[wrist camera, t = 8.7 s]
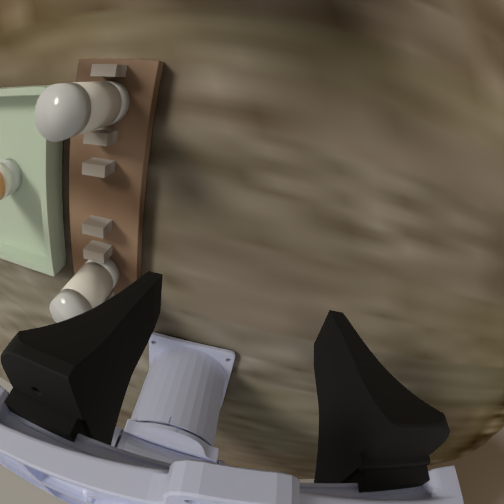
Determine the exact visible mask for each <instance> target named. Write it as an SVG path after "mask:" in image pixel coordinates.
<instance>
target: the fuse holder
mask: <svg viewBox="0 0 504 504" xmlns="http://www.w3.org/2000/svg"><path fill="white" fill-rule="evenodd" d="M163 65H164V62H161V61H151V60H133V59H79V64H78V71H77V77H76V82H91V81H117V82H119V83H121V84H122V85H124V86H125V88H126V89H127V91H128V93H129V97H130V105H129V109H128V111H127V113H126V115H125V116H124V118H123V119H122V120H120V121H119V122H117V123H115V124H112V125H109V126H105V127H102V128H99V129H95V130H92V131H89V132H86V133H83V134H80V135H77V136H74V137H71V138H70V160H69V209H70V231H71V246H72V258H73V269H74V275H75V274H76V273H77V272H78V271H79V269H80V268H81V267H82V266H83V265H84V264H85V263H86V262H87V261H88V260H92V261H95V262H99V263H103V264H104V263H105V262H106V261H107V260H108V259H109V258H110V259H111V260H112V261H113V262H114V263H115V264H116V266H117V268H118V270H119V280H118V282H117V284H116V285H115V286H114V288H113V289H112V291H111V292H110V294H109V295H108V296H107V298H106V299H105V301H107V300H108V299H110V298H111V297H113V296H115V295H116V294H118V293H119V292H120V291H122V290H123V289H125V288H126V287H128V286H129V285H130V284H132V283H133V282H135V281H136V280H137V279H139V278H140V277H141V256H142V235H143V219H144V205H145V193H146V182H147V172H148V163H149V154H150V146H151V138H152V131H153V124H154V117H155V111H156V104H157V98H158V92H159V87H160V81H161V76H162V70H163ZM105 301H104V302H105Z"/></svg>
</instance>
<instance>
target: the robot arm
mask: <svg viewBox="0 0 504 504" xmlns="http://www.w3.org/2000/svg"><path fill="white" fill-rule="evenodd" d="M161 289H162V274H158V273H154V272H150V271H149V272H147V273H146V274H144V275H143V276H141V277H140V278H139V279H137V280H136V281H135V282H133V283H132V284H130V285H129V286H128V287H126V288H125V289H123V290H122V291H120V292H119V293H118V294H116V295H115V296H113V297H111V298H110V299H108V300H107V301H105V302H103V303H102V304H100V305H98V306H96V307H94V308H93V309H90V310H88V311H86V312H84V313H82V314H80V315H77V316H75V317H72V318H70V319H67V320H64V321H62V322H58V323H55V324H52V325H48V326H44V327H40V328H35V329H30V330H24V331H19V332H18V333H17V334H16V336H15V337H14V338H13V339H12V341H11V342H10V343H9V345H8V346H7V347H6V349H5V350H4V351H3V353H2V354H1V363H2V366H3V369H4V371H5V373H6V375H7V377H8V379H9V381H10V383H11V384H12V386H13V389H12V390H11V392H10V394H9V393H8V392H7V391H6V390H5V389H4V388H2V387H1V386H0V464H1V465H3V466H5V467H6V468H8V469H9V470H11V471H12V472H14V473H15V474H17V475H19V476H20V477H22V478H23V479H25V480H27V481H28V482H30V483H32V484H34V485H35V486H37V487H39V488H40V489H42V490H44V491H46V492H48V493H49V494H51V495H53V496H55V497H57V498H59V499H61V500H63V501H65V502H67V503H69V504H464V503H463V498H462V494H461V490H460V486H459V482H458V478H457V474H456V470H455V467H454V466H453V465H451V466H445V467H439V468H434V469H432V470H429V471H428V469H427V465H428V464H429V463H430V458H429V455H430V454H431V453H432V452H434V451H435V450H436V449H437V448H438V447H439V446H441V445H442V444H443V443H444V442H445V441H446V439H447V438H448V436H449V434H450V430H449V427H448V424H447V421H446V418H445V415H444V414H443V413H442V412H440V411H438V410H437V409H435V408H433V407H431V406H430V405H428V404H427V403H425V402H424V401H422V400H421V399H419V398H418V397H417V396H415V395H414V394H413V393H411V392H410V391H409V390H408V389H406V388H405V387H404V386H403V385H402V384H401V383H400V382H398V381H397V380H396V379H395V378H394V377H393V376H392V375H391V374H390V373H389V372H388V371H387V370H386V369H385V368H384V367H383V365H382V364H381V363H380V362H379V361H378V360H377V358H376V357H375V356H374V355H373V354H372V352H371V351H370V350H369V348H368V347H367V346H366V345H365V343H364V342H363V340H362V339H361V338H360V336H359V335H358V333H357V332H356V331H355V329H354V328H353V326H352V325H351V323H350V322H349V321H348V319H347V318H346V317H345V315H344V314H343V313H341V312H336V311H331V310H329V313H328V315H327V317H326V319H325V322H324V324H323V326H322V328H321V330H320V333H319V335H318V337H317V339H316V341H315V343H314V370H315V378H316V387H317V395H318V404H319V439H318V454H317V465H316V473H315V480H314V483H299V479H297V478H296V477H294V476H293V475H291V474H288V473H283V472H278V471H269V470H260V469H252V468H245V467H238V466H231V465H226V463H225V462H224V461H221V460H218V455H219V448H216V447H214V442H215V436H216V430H217V424H218V418H219V412H220V408H221V407H222V404H223V400H224V397H225V393H226V389H227V386H228V382H229V378H230V375H231V371H232V368H233V364H234V360H235V356H236V354H235V352H234V351H231V350H227V349H222V348H217V347H213V346H208V345H204V344H199V343H195V342H191V341H187V340H182V339H178V338H174V337H170V336H167V335H163V334H159V333H155V332H153V331H154V328H155V325H156V323H157V320H158V317H159V314H160V307H161ZM148 341H149V372H148V374H147V377H146V379H145V382H144V384H143V387H142V390H141V392H140V395H139V398H138V400H137V403H136V406H135V408H134V411H133V414H132V417H131V419H128V420H127V423H126V426H125V429H124V431H123V429H122V428H120V427H117V426H116V423H117V420H118V416H119V412H120V409H121V406H122V403H123V399H124V396H125V393H126V390H127V387H128V384H129V381H130V378H131V376H132V374H133V371H134V369H135V367H136V365H137V363H138V361H139V359H140V357H141V355H142V353H143V351H144V349H145V347H146V345H147V343H148ZM155 341H156V342H155ZM228 358H229V359H228Z"/></svg>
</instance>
